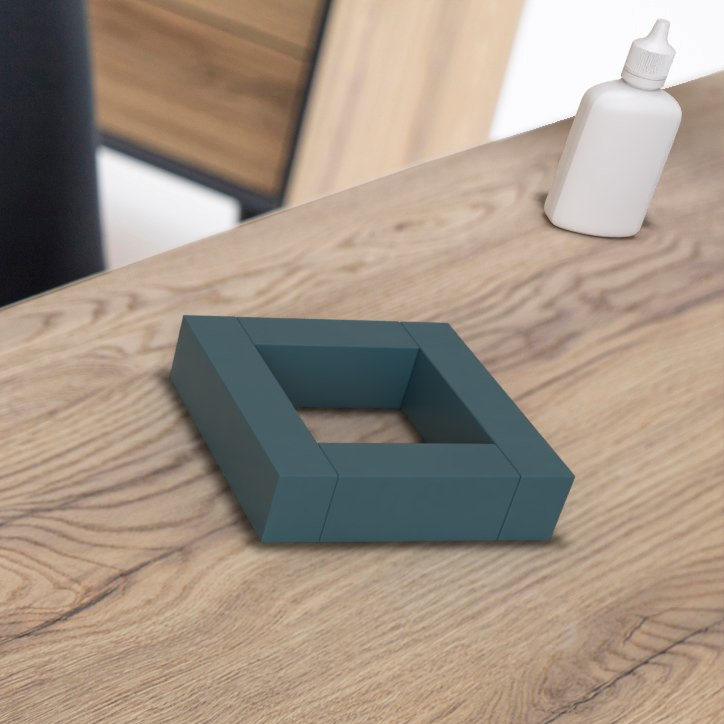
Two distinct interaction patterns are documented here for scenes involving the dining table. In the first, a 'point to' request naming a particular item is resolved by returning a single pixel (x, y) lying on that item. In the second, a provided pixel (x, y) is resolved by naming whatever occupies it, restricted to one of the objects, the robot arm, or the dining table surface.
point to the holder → (365, 460)
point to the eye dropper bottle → (618, 145)
